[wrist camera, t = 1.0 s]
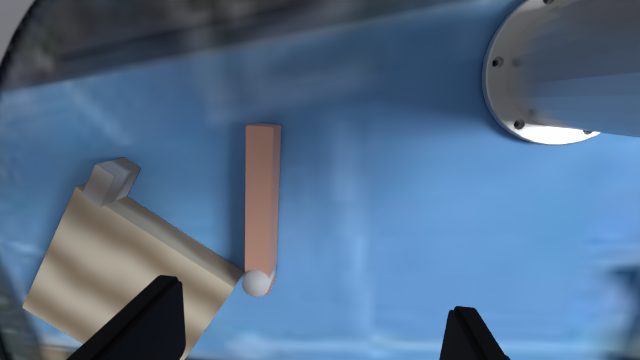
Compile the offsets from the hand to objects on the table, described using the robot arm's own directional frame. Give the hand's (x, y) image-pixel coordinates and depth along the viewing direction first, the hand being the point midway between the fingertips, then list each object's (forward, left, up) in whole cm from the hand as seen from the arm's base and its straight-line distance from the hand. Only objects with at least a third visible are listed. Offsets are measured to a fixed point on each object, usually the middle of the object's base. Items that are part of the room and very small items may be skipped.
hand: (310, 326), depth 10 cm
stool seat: (+21, -11, -20) cm, 31 cm away
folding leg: (+6, -4, -19) cm, 21 cm away
